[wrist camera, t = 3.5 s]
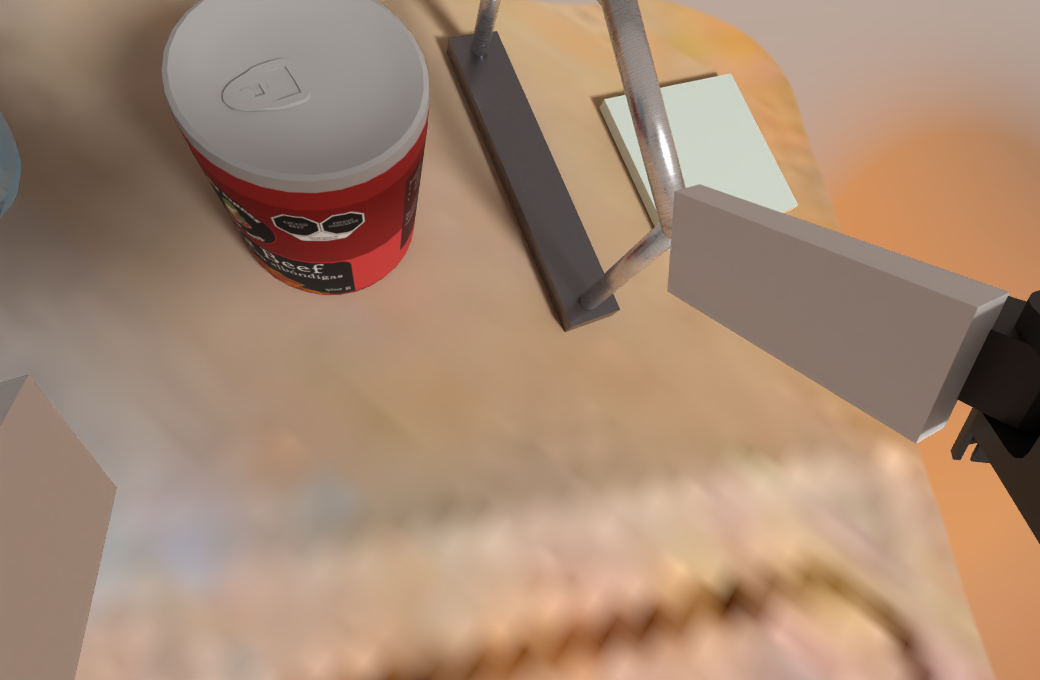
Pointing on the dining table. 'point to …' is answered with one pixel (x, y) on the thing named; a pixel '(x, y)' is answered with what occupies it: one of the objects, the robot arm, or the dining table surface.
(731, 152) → the sage mat
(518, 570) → the dining table surface
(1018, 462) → the robot arm
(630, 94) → the metal handle
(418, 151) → the canned food
